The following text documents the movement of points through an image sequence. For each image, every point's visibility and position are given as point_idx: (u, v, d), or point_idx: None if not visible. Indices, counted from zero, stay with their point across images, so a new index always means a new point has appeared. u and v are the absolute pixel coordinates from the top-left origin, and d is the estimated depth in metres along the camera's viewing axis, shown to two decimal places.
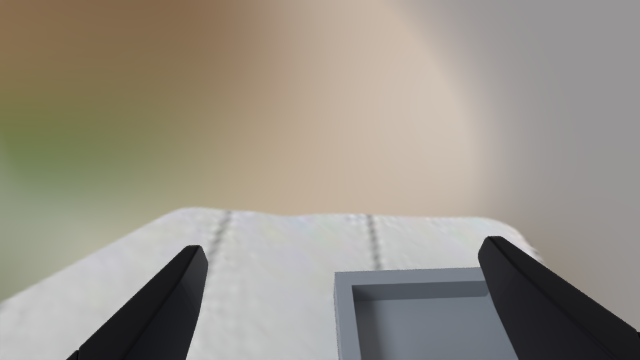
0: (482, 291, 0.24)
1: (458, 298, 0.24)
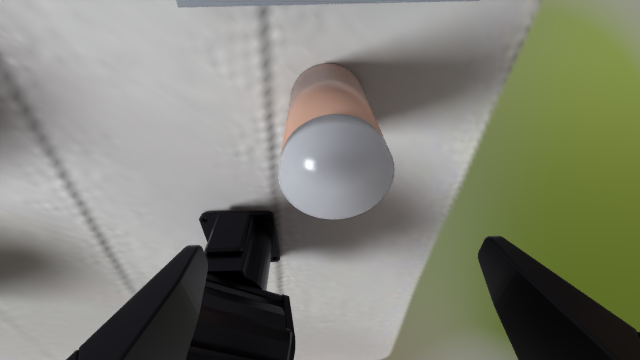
0: None
1: None
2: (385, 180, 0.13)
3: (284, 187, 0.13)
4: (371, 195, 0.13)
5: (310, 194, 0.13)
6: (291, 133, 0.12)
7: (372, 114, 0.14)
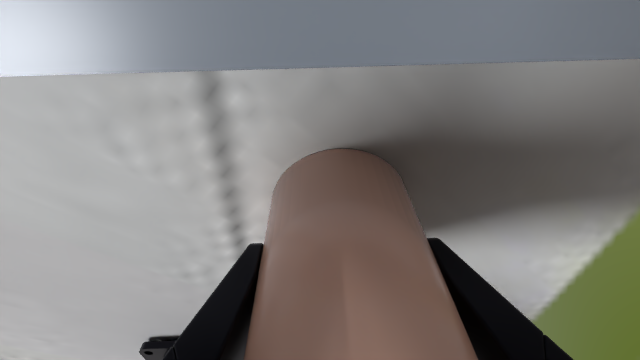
0: None
1: None
2: None
3: None
4: None
5: None
6: None
7: None
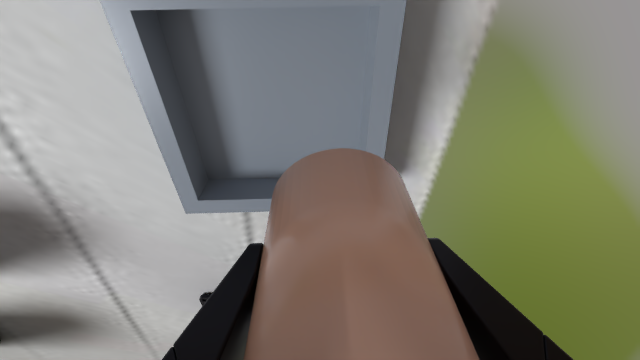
0: None
1: None
2: None
3: None
4: None
5: None
6: None
7: None
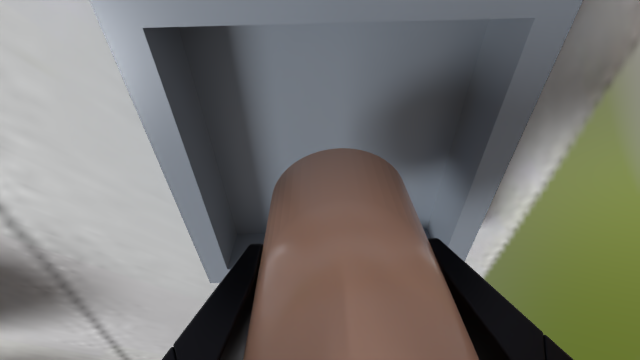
0: None
1: None
2: None
3: None
4: None
5: None
6: None
7: None
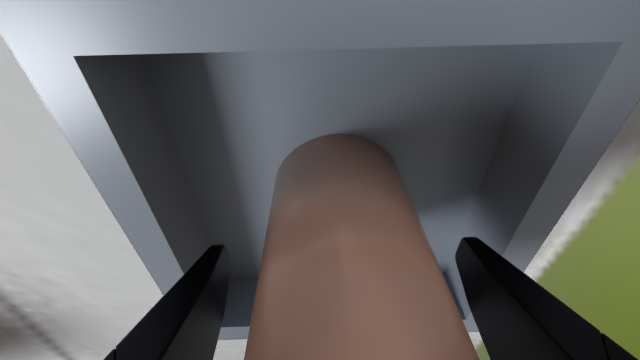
0: None
1: None
2: None
3: None
4: None
5: None
6: None
7: (456, 311, 0.06)
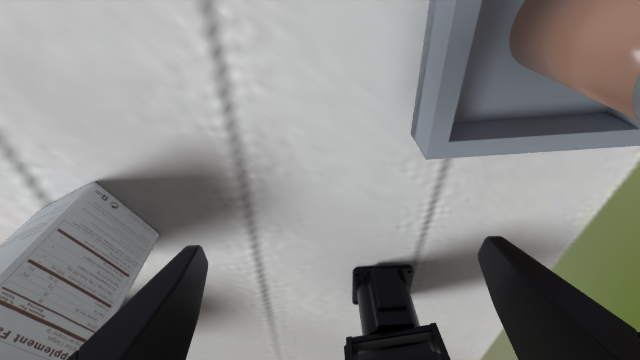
0: None
1: None
2: None
3: None
4: None
5: None
6: None
7: None
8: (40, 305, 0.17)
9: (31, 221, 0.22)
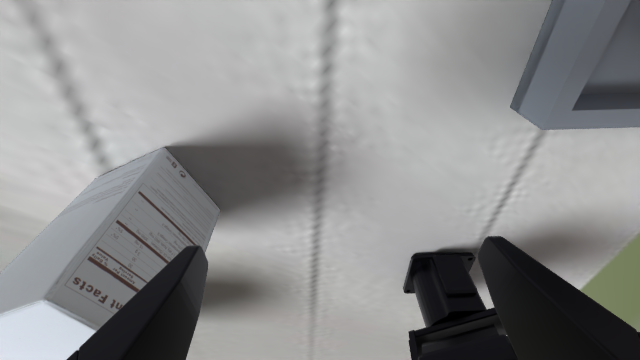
0: None
1: None
2: None
3: None
4: None
5: None
6: None
7: None
8: (130, 270, 0.15)
9: (96, 186, 0.21)
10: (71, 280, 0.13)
